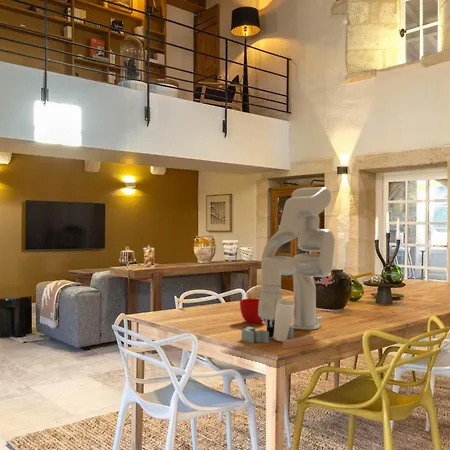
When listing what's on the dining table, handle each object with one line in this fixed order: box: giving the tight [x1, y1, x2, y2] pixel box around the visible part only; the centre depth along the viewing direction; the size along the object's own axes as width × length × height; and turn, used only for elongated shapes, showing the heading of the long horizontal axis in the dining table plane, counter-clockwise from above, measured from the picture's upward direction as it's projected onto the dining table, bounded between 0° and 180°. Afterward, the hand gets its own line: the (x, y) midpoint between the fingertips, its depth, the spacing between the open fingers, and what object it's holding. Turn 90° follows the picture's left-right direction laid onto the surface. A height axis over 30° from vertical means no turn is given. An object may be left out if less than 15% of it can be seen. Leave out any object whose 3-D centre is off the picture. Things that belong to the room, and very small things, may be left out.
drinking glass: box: [272, 298, 295, 343], centre depth 193 cm, size 7×7×15 cm
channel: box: [241, 326, 315, 349], centre depth 195 cm, size 18×23×4 cm
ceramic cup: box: [239, 298, 264, 325], centre depth 233 cm, size 13×17×10 cm
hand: (271, 336), depth 199 cm, fingers closed
